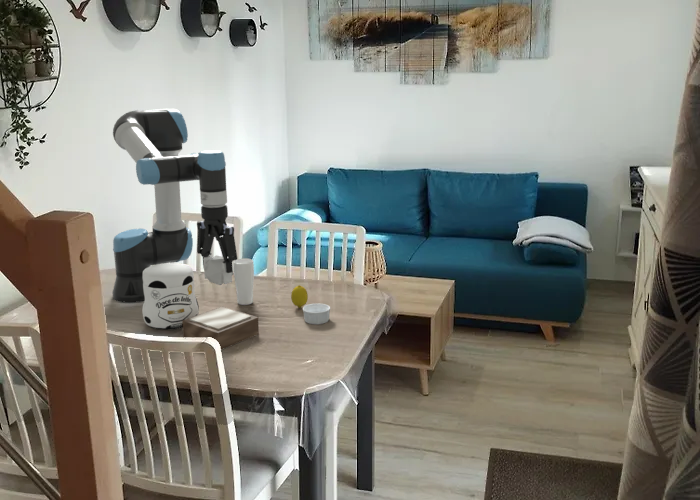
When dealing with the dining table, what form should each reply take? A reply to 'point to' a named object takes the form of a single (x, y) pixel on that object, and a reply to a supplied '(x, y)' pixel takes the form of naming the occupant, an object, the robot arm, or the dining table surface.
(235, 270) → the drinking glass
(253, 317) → the plinth
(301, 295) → the lemon
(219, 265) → the die
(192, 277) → the milk container
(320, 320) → the ramekin
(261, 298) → the dining table surface
